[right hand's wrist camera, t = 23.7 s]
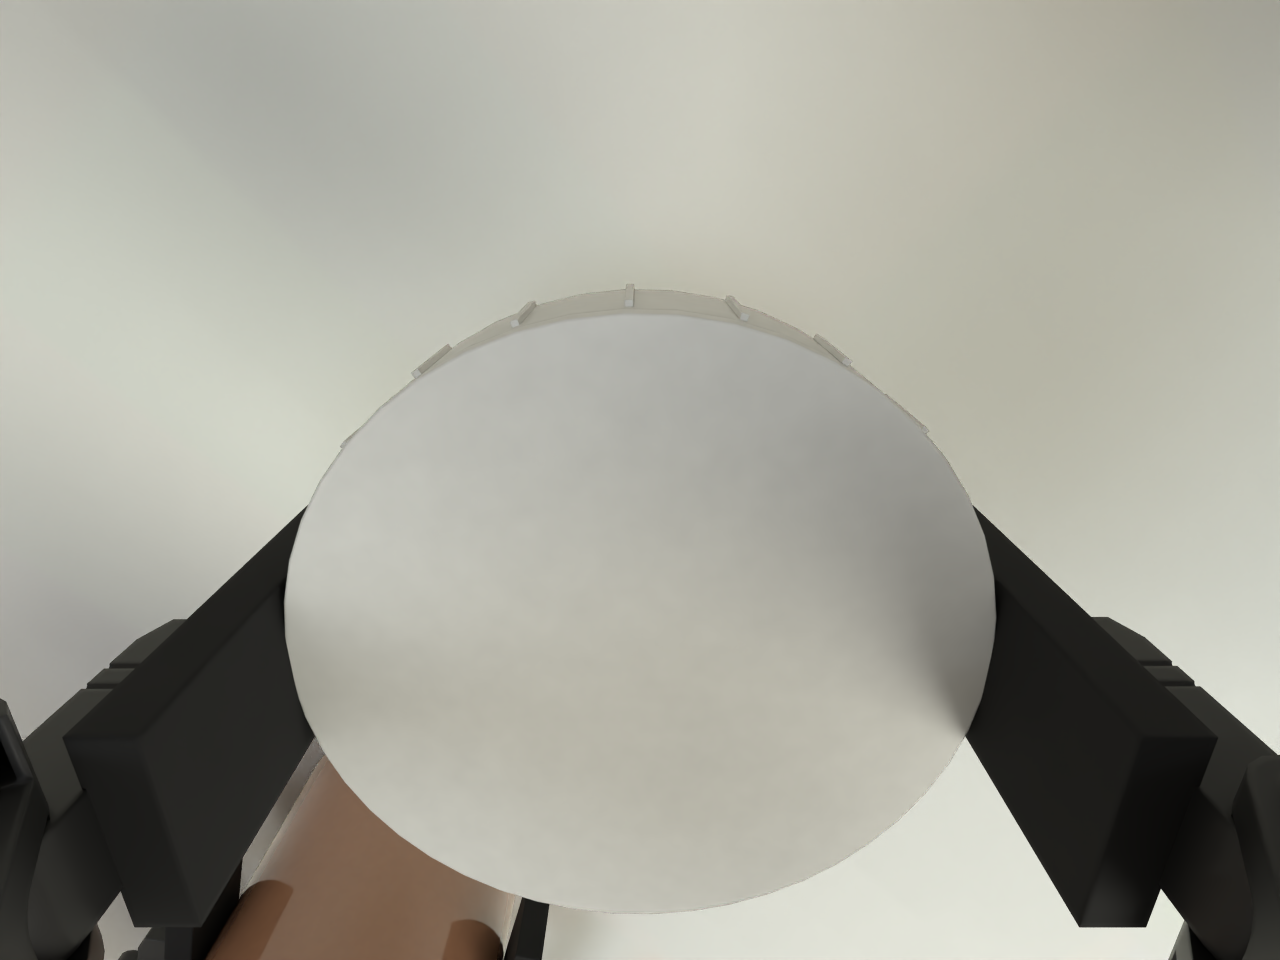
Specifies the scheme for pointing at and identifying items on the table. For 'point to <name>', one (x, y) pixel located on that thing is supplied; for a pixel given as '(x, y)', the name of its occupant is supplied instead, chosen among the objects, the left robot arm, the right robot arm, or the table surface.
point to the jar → (358, 892)
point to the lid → (640, 606)
